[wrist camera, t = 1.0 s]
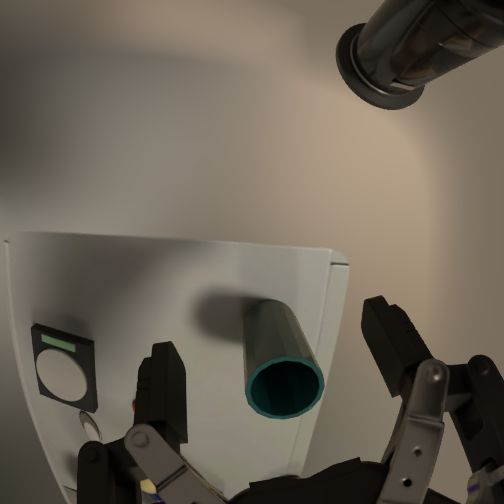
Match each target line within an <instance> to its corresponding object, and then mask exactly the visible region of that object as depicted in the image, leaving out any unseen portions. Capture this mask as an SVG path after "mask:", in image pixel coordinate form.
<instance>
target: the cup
mask: <svg viewBox="0 0 504 504" xmlns="http://www.w3.org/2000/svg"><path fill="white" fill-rule="evenodd" d="M242 334H243V359H244V384H245V395H246V398H247V401H248V404H249V405H250V406H251V407H252V408H253V409H254V410H255V411H256V412H257V413H258V414H261V415H263V416H265V417H268V418H271V419H289V418H293V417H297V416H300V415H302V414H303V413H305V412H307V411H309V410H310V409H312V408H313V406H314V405H315V404H316V403H317V402H318V401H319V400H320V398H321V395H322V393H323V390H324V378H323V374H322V371H321V369H320V367H319V365H318V363H317V361H316V359H315V356H314V354H313V352H312V350H311V348H310V346H309V344H308V342H307V339H306V337H305V335H304V333H303V331H302V329H301V327H300V325H299V323H298V320H297V318H296V316H295V315H294V313H293V311H292V310H291V309H290V308H289V307H288V306H287V305H286V304H284V303H282V302H279V301H276V300H266V301H262V302H259V303H257V304H255V305H254V306H252V307H251V308H250V309H249V310H248V311H247V313H246V315H245V317H244V320H243V327H242Z"/></svg>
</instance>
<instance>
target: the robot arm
mask: <svg viewBox="0 0 504 504" xmlns="http://www.w3.org/2000/svg"><path fill="white" fill-rule="evenodd" d="M502 45H504V0H385V1H384V3H383V4H382V5H381V6H380V7H379V9H378V10H377V11H376V12H375V13H374V15H373V16H372V17H371V18H370V20H369V21H368V22H367V23H366V25H365V26H364V27H363V28H362V30H361V31H360V32H359V33H358V34H357V35H356V36H355V37H354V38H353V40H352V41H351V43H350V46H349V60H350V64H351V66H352V69H353V71H354V72H355V74H356V75H357V77H358V78H359V79H360V80H361V82H362V83H363V84H364V85H366V86H367V87H368V88H369V89H371V90H372V91H374V92H375V93H378V94H380V95H382V96H385V97H390V98H399V97H403V96H406V95H408V94H410V93H411V92H413V91H414V90H415V89H417V88H419V87H421V86H423V85H425V84H426V83H428V82H430V81H432V80H434V79H436V78H438V77H440V76H442V75H443V74H445V73H447V72H449V71H451V70H453V69H455V68H457V67H459V66H461V65H463V64H465V63H467V62H469V61H471V60H473V59H475V58H477V57H479V56H481V55H483V54H485V53H487V52H489V51H491V50H493V49H495V48H497V47H499V46H502ZM361 329H362V333H363V336H364V339H365V340H366V343H367V345H368V347H369V349H370V351H371V353H372V355H373V357H374V359H375V361H376V364H377V366H378V368H379V370H380V372H381V374H382V376H383V379H384V380H385V383H386V385H387V387H388V389H389V391H390V394H391V396H392V398H393V397H395V396H398V395H401V398H402V400H403V401H402V404H401V407H400V411H399V414H398V417H397V421H396V424H395V427H394V430H393V433H392V436H391V439H390V441H389V444H388V446H387V448H386V451H385V453H384V455H383V457H382V460H381V463H377V462H370V461H362V462H361V460H360V457H358V458H354V459H351V460H348V461H344V462H342V463H338V464H334V465H332V466H330V467H328V468H327V469H325V470H323V471H321V472H319V473H317V474H315V475H313V476H311V477H309V478H305V479H292V478H275V479H269V480H263V481H257V482H251V483H249V485H250V488H247V489H245V490H243V491H241V492H239V493H238V494H237V495H235V496H234V497H233V498H231V499H230V500H228V499H227V498H226V497H225V496H224V495H223V494H222V493H220V492H219V491H218V490H217V489H216V488H215V487H214V486H213V485H211V484H210V483H209V482H208V481H207V480H206V479H205V478H204V477H203V476H202V475H201V474H200V473H199V472H198V471H197V470H196V469H195V468H194V467H193V466H192V465H191V464H190V463H189V462H188V461H187V460H186V459H185V458H184V457H183V456H182V454H181V453H180V444H183V443H188V434H187V404H186V371H185V366H184V363H183V361H182V359H181V357H180V356H179V354H178V352H177V350H176V348H175V346H174V344H173V343H172V342H171V341H168V342H162V343H155V344H153V346H152V356H151V357H147V358H144V359H143V361H142V363H141V365H140V367H139V370H138V382H137V391H136V401H135V414H134V424H133V427H132V428H130V429H129V430H128V432H127V433H126V435H125V437H123V438H121V439H119V440H116V441H113V442H110V443H107V444H102V443H101V442H99V441H94V440H93V441H88V442H86V443H85V444H84V445H83V446H82V447H81V448H80V450H79V454H78V471H77V504H142V498H141V484H140V481H143V480H146V479H150V481H151V482H152V483H153V484H154V486H155V487H156V492H157V494H158V495H159V496H160V498H161V499H162V500H163V501H164V502H165V504H461V503H459V502H456V501H454V500H452V499H450V498H448V497H446V496H444V495H442V494H440V493H438V492H436V491H434V490H432V489H430V488H428V486H429V483H430V480H431V477H432V474H433V470H434V467H435V463H436V460H437V456H438V452H439V449H440V445H441V441H442V437H443V432H444V422H442V418H443V413H444V412H449V413H450V416H451V418H452V420H453V423H454V425H455V428H456V430H457V432H458V435H459V438H460V440H461V443H462V446H463V448H464V451H465V453H466V456H467V459H468V462H469V464H470V467H471V470H472V473H473V474H472V476H471V477H470V478H469V481H468V485H467V491H468V498H467V502H466V504H504V380H503V378H502V376H501V375H500V373H499V371H498V369H497V367H496V365H495V364H494V362H493V361H492V360H491V359H490V358H489V357H487V356H485V355H475V356H473V357H472V358H471V359H470V360H469V362H468V364H459V365H446V364H445V363H443V362H442V361H440V360H437V359H435V358H434V357H433V356H432V355H431V353H430V351H429V349H428V348H427V346H426V344H425V343H424V341H423V340H422V338H421V337H420V335H419V333H418V331H417V330H416V329H415V327H414V325H413V323H412V322H411V321H410V319H409V317H408V316H407V314H406V312H405V311H404V310H402V309H401V308H400V307H398V306H397V305H396V304H394V305H391V306H389V305H388V303H387V301H386V300H385V298H384V297H383V296H382V295H380V296H376V297H373V298H369V299H366V300H364V304H363V312H362V321H361Z"/></svg>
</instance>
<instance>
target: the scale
mask: <svg viewBox="0 0 504 504" xmlns="http://www.w3.org/2000/svg"><path fill="white" fill-rule="evenodd" d="M31 336H32V345H33V353H34V361H35V368H36V374H37V380H38V386H39V391H40V394H41V395H44V396H46V397H49V398H51V399H54V400H57V401H59V402H62V403H65V404H67V405H70V406H73V407H76V408H79V409H81V410H84V411H87V412H91V413H95V412H96V410H97V408H98V402H97V391H96V376H95V354H94V341H92V340H88V339H85V338H81V337H78V336H75V335H71V334H68V333H65V332H62V331H58V330H55V329H52V328H49V327H46V326H43V325H40V324H35V325H34V326H32V327H31Z"/></svg>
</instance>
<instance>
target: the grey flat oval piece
mask: <svg viewBox="0 0 504 504" xmlns="http://www.w3.org/2000/svg"><path fill="white" fill-rule="evenodd" d="M80 420H81V423H82V426H83V428H84V429H85V431H86V433H87V434H88V436H89V437H90V439H91V440H92V441H93V440H94V441H99V442H102V438H101V434H100V432H99V430H98V428H97V426H96V424H95V423H94V421H93V420H92V419H91V418H90V416H89V415H88V414H86V413H85V412H81V413H80Z"/></svg>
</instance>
